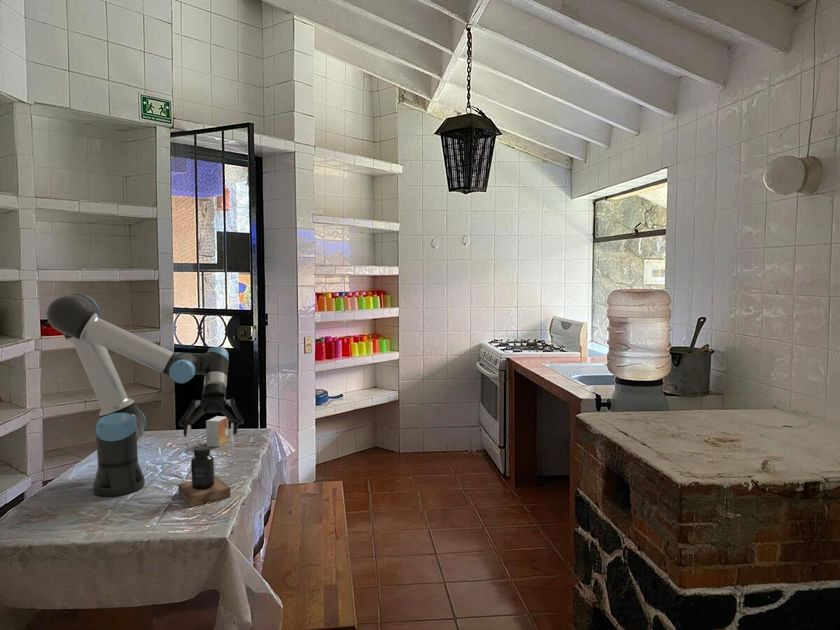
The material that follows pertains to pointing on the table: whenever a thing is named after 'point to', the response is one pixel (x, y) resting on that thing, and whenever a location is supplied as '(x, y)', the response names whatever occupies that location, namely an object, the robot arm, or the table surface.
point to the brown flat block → (204, 492)
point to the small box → (217, 431)
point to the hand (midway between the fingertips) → (209, 444)
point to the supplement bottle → (202, 468)
